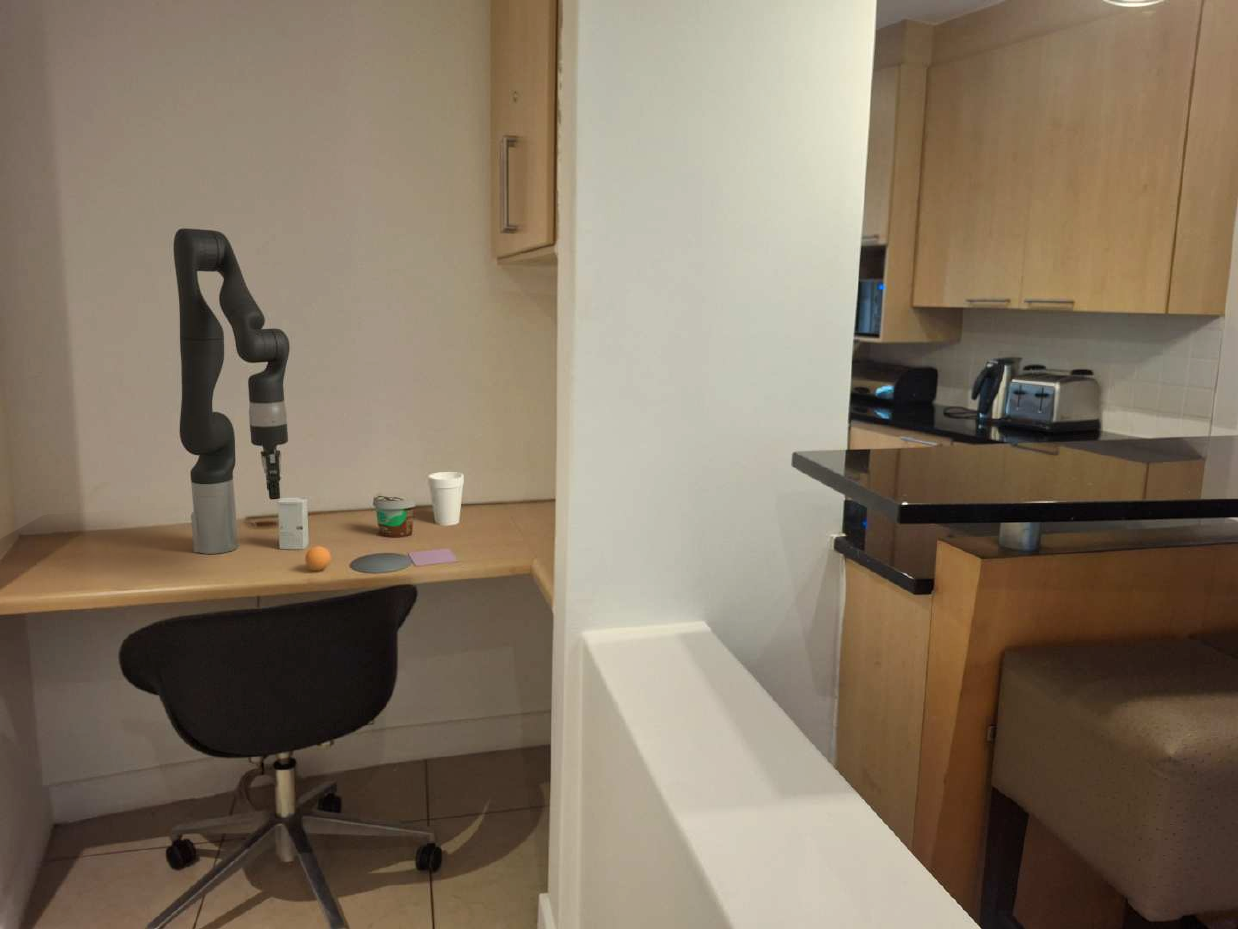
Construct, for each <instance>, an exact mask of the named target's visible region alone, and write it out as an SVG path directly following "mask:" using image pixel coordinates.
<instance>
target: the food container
mask: <svg viewBox="0 0 1238 929" xmlns="http://www.w3.org/2000/svg"><path fill="white" fill-rule="evenodd" d="M381 494H382V493H381V492H378V493H376V494H375V495H374V497H373V499H372V500H373V501H372V506H374V507H375V512H376V514H375V515H376V519H377V520H376V521H377V526H378V534H379V536H381V537H383V538H388V539H389V538H390V539H397V538H398V539H399V538H407V537H411V536H413V526H414V525H413V524H414V507H416V501H415V498H414V497H413V498H409V499H403V498H400V497H397V496H393V497H389V496H382V495H381Z"/></svg>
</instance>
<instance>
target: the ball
mask: <svg viewBox="0 0 1238 929" xmlns="http://www.w3.org/2000/svg"><path fill="white" fill-rule="evenodd" d="M304 559H305V560H304V561H305V564H306V566H308V569H309V568H310V569H311V570H313V571H315V572H316V571H322V570H325V569H326V568H327V567H329V565H330V563H331V561H332V560H331V559H332V556H331V553H330V551H329V550H328V549H327V548H325V547H324V546H318V545H317V546H312V548H310V549H308V550H307V552H306V553H305V558H304Z"/></svg>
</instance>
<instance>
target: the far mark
mask: <svg viewBox="0 0 1238 929" xmlns="http://www.w3.org/2000/svg"><path fill="white" fill-rule="evenodd" d="M407 555H408V556H409V557H410V558H411V559H412V563H413V565H414V566H415V567H422V566H430V565H431V566H433V565H441V564H449V563H450V564H451V563H458V562H459V560H458V559H457V557H456V556H455V554H454V553H453V552H452V550H451V549H450V548H441V549H433V550H432V549H431V550H420V551H414V552H407Z"/></svg>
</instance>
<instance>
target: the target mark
mask: <svg viewBox="0 0 1238 929" xmlns="http://www.w3.org/2000/svg"><path fill="white" fill-rule="evenodd" d="M412 563H413V561H412V559H411V558H410V556H409V555H406V554H403V553H397V552H396V553H394V552H379V553H371V554H365V555H363V556H359V557H357V558H355V559H353V560H352V561H351V562H350V564H349V566H350V568H351V569H352V570H354V571H356V572H360V573H365V574H366V573H367V574H385V573H391V572H397V571H400V570H403V569H406V568H408V567H409V566H412Z"/></svg>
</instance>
